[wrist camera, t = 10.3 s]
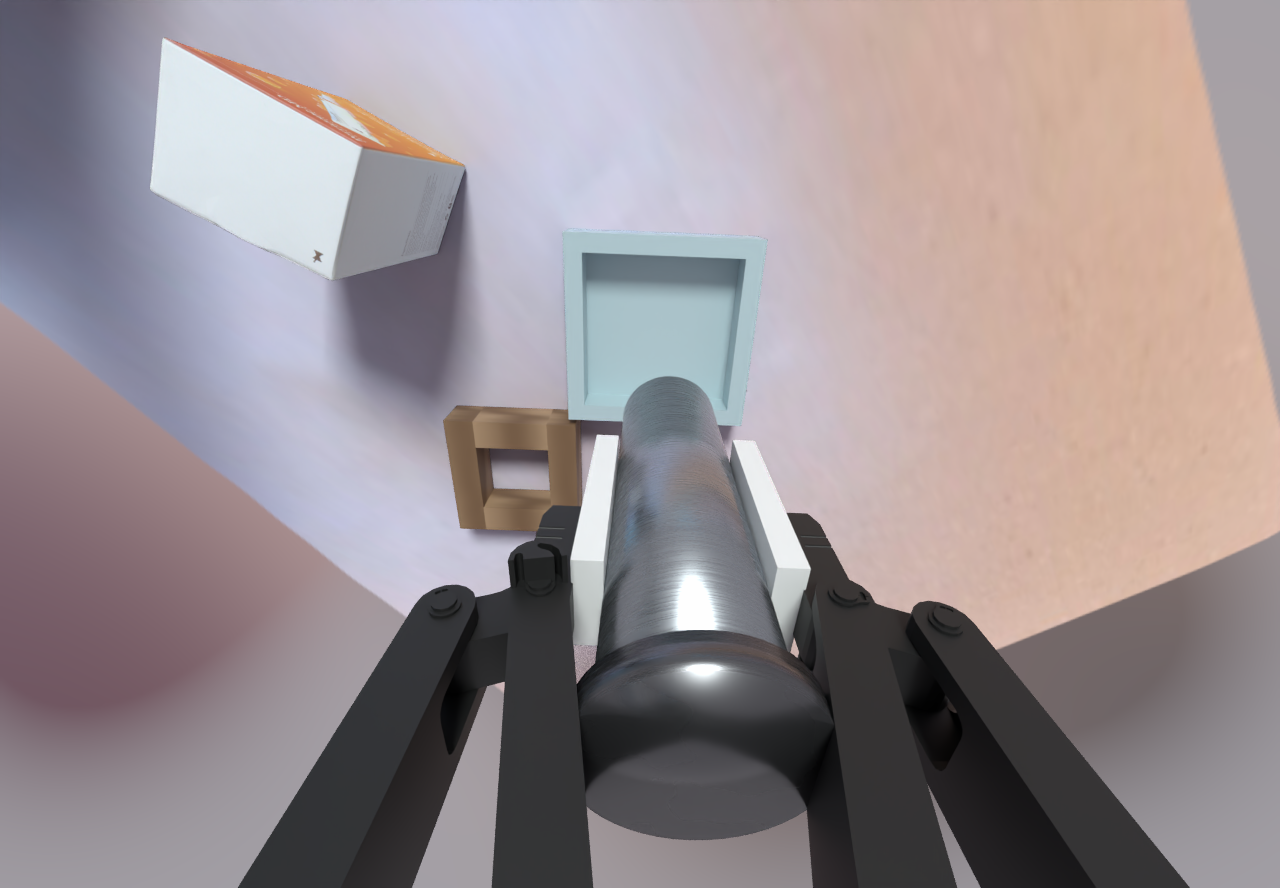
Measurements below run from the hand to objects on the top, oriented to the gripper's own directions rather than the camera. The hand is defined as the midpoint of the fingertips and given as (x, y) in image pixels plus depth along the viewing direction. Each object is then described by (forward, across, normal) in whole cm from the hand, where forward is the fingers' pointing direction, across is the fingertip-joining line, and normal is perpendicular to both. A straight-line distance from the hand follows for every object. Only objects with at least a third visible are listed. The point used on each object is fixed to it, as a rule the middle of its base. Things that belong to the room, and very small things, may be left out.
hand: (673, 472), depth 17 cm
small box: (+22, -18, +9) cm, 30 cm away
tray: (+22, 0, 0) cm, 22 cm away
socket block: (+22, -11, -12) cm, 27 cm away
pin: (+5, 0, 0) cm, 5 cm away
